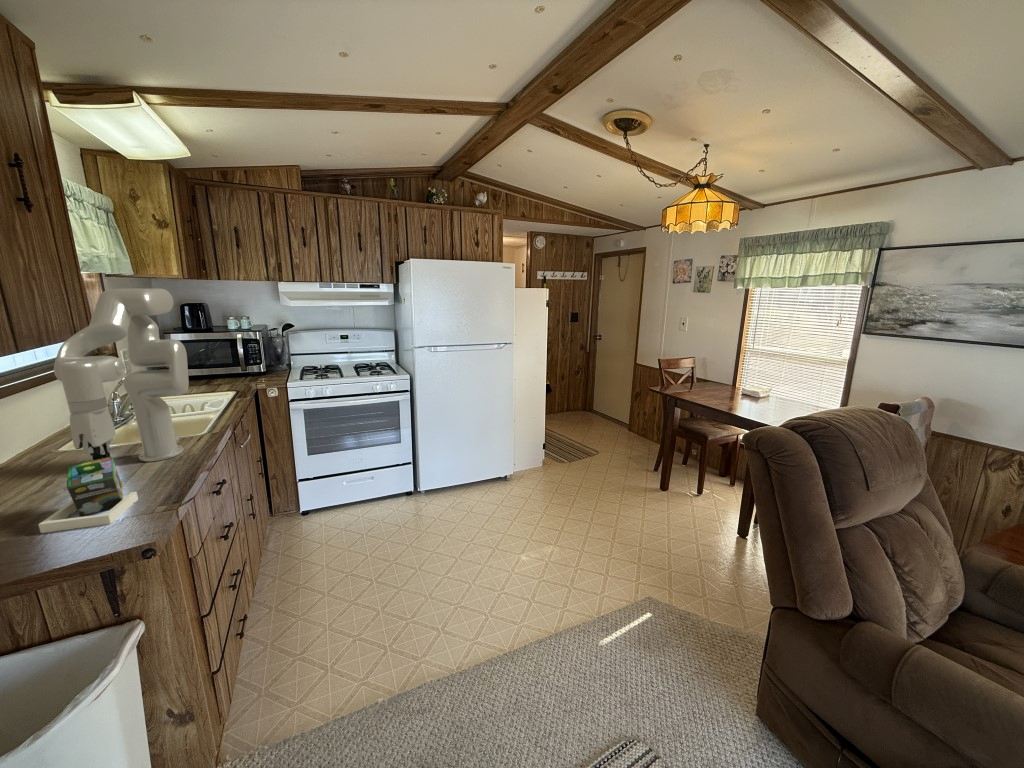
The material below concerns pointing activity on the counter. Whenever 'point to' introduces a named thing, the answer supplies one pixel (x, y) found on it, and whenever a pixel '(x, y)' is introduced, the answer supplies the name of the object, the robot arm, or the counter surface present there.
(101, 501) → the chalk box
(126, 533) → the counter surface
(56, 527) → the cream u-shaped bracket
